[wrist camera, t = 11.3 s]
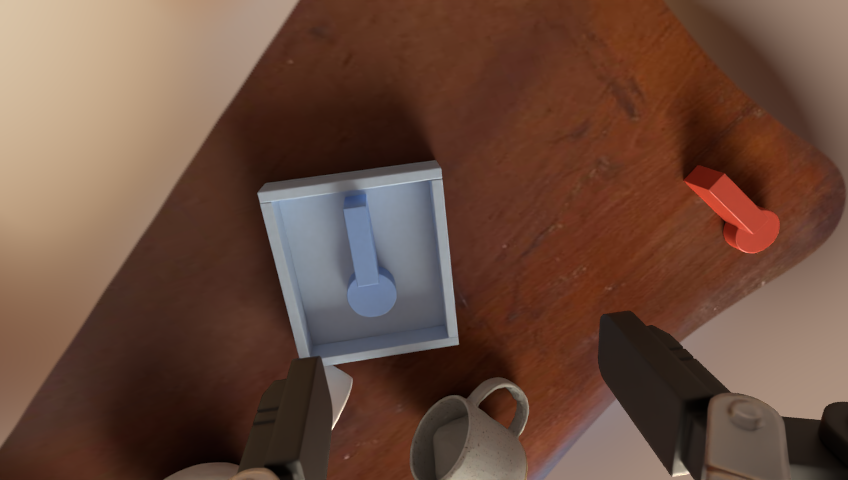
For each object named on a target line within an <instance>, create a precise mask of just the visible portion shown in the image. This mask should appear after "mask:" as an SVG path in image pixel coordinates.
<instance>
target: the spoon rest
mask: <svg viewBox="0 0 848 480" xmlns="http://www.w3.org/2000/svg"><path fill="white" fill-rule="evenodd" d="M324 370H325V375H326V379H327V383H328V387H329V392H330V396H331V401H332V409H333V423H332V429H333V427H334V425H335V424H336V422H337V420H338V418H339V416H340V414H341V412H342V410H343V408H344V406H345V404H346V401H347V399H348V397H349V394H350V391H351V387H352V382H353V380H352V378H351V377H350V376H349V375H348V374H346V373H345V372H343V371H341V370H339V369H338V368H336V367H334V366H333V365H328V366H324ZM238 468H239V465H236V464H232V463H227V462H215V463H204V464H199V465H195V466H192V467H188V468H186V469H183V470H181V471H178V472H176V473H174V474H172V475H170V476H169V477H167V478H165V479H164V480H228V479H229V478H231V477H232V476H234V475H236V474H237V471H238Z"/></svg>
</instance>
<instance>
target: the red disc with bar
mask: <svg viewBox="0 0 848 480" xmlns="http://www.w3.org/2000/svg"><path fill="white" fill-rule="evenodd" d="M683 181H684V182H685V183H686V184H687V185H688V186H689V187H690V188H691V189H692V190H693V191H694V192H695V193H696V194H697V195H699V196H700V197H701V198H702V199H703V200H704V201H705V202H706V203H707V204H708V205H709V206H710V207H711V208H712V209H713V210H714V211H715V212H716V213H717V214H718V215H719V216H720V217H721V218H722V219H723V220H724V221H725V222H726V223H725V225H724V229H723V235H724V238H725V240H726V242H727V243H728V244H729V245H731V246H733V247H735V248H737V249H739V250H741V251H743V252H746V253H756V252H760V251H762V250H764V249H765V248H767V247H768V246H769V245H771V243H772V242H773V241H774V240H775V238H776V237H777V235H778V232H779V229H780V221H779V218H778V216H777V215H776V214H775V213H774V212H772V211H770V210H767V209H765V208H762V207H759V206H757V205H755V204H754V203H753V202H752V201H751V200H750V199H749V198H748V197H747V196H746V195H745V194H744V193H743V192H742V191H741V190H740V189H739V188H738V186H737V185H736V184H735V183H734V182H733V181H732V180H731V179H730V178H729V177H728V176H727V175H726V174H725V173H722V172H719V171H715V170H712V169H709V168H706V167H703V166H699V165H697V167H696V168H695V169H694V170H693V171H692V172H691V173H690V174H689V175H688V176H687V177H686V178H685V179H684V180H683Z"/></svg>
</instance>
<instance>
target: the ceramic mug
mask: <svg viewBox="0 0 848 480" xmlns="http://www.w3.org/2000/svg"><path fill="white" fill-rule="evenodd" d="M503 387H506V388H507V389H508V390H509V391H510V392H511V394H512V396H513V398H514V399H515V400H517V410H516V413H515V417H514V419H513V421H512V423H511V424H510V426H509V428H508V429H506V428H505V427H504V426H502V425H501V424H500V423H499V422H497V421H495V420H493V419H492V418H491V417H490V416H488V415H487V414H486V413H485V412H484V411H482V410H481V409H479V408H478V406H479V404H480V402H481V401H482V400H484V399H485V398H486V397H487V396H488V395H489V394H490V393H491V392H493V391H494V390H496V389H498V388H503ZM528 415H529V406H528V401H527V398H526V396H525V394H524V392H523V391H522V390H521V389H520V388H519V387H518V386H517V385H516V384H514V383H512V382H511V381H509V380H507V379H505V378H500V377H496V378H491V379H488V380H486V381H484V382H483V383H481V384H480V385H479V386H478V387H477V388H476V389H475V390H474V391H473V392H472V393H471V394H470V396H469V397H468V398H467V399H466V398H464V397H462V396H458V395H451V396H447V397H444V398H443V399H441V400H439V401H438V402H437V403H435V404H434V405H433V406H432V407H431V408H430V409H429V410H428V412H427V413H426V414H425V415H424V417H423V418H422V420H421V421H420V423H419V425H418V427H417V430H416V432H415V434H414V437H413V440H412V445H411V450H410V467H411V472H412V475H413V477H414V479H415V480H526V477H527V470H528V466H527V457H526V453H525V450H524V448H523V446H522V444H521V443H520V442H519V440H518V437H519V435H520V434H521V433H522V431H523V429H524V427H525V425H526V422H527V418H528Z"/></svg>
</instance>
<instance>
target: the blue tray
mask: <svg viewBox="0 0 848 480" xmlns="http://www.w3.org/2000/svg"><path fill="white" fill-rule="evenodd" d="M257 194H258V198H259V202H260V206H261V210H262V214H263V218H264V222H265V226H266V230H267V234H268V237H269V241H270V245H271V249H272V253H273V257H274V261H275V265H276V269H277V273H278V276H279V280H280V284H281V288H282V292H283V296H284V300H285V304H286V308H287V312H288V315H289V319H290V323H291V327H292V331H293V335H294V339H295V343H296V347H297V351H298V355H299V358H305V357H312V356H320V357H321V359H322V362H323V366H328V365H334V364H340V363H347V362H353V361H359V360H365V359H372V358H378V357H384V356H390V355H397V354H403V353H409V352H415V351H422V350H428V349H434V348H440V347H447V346H453V345H459V340H458V331H457V321H456V311H455V301H454V291H453V281H452V271H451V261H450V251H449V241H448V231H447V221H446V211H445V201H444V191H443V181H442V171H441V167H440V166H439V164H438V163H437V161H436V160H433V161H425V162H418V163H411V164H403V165H396V166H389V167H381V168H374V169H366V170H359V171H352V172H344V173H337V174H329V175H322V176H315V177H307V178H300V179H292V180H285V181H278V182H270V183H265V184H264V186H263V187H262V188H261V189H260V190H259V191H258V192H257ZM363 194H366V195H367V200H368V206H369V212H370V218H371V224H372V230H373V236H374V242H375V248H376V254H377V260H378V266H380V267H383V268H385V269H386V270H388V271H389V272H390V273H391V274H392V276H393V277H394V280H395V283H396V292H397V297H396V301H395V304H394V305H393V307H392V308H391V309H390V310H389V311H388V312H386V313H385V314H383V315H380V316H377V317H366V316H362V315H360V314H358V313H356V312H355V311H354V310H353V309H352V308H351V307H350V305H349V303H348V300H347V288H348V282H349V279H350V277H351V275H352V274H353V273H354V272H355V271H354V266H353V261H352V256H351V250H350V245H349V240H348V234H347V229H346V224H345V219H344V213H343V206H344V200H345V197H349V196H356V195H363Z"/></svg>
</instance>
